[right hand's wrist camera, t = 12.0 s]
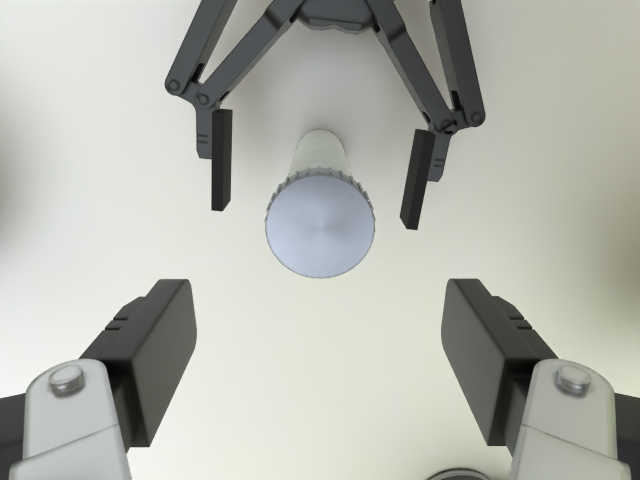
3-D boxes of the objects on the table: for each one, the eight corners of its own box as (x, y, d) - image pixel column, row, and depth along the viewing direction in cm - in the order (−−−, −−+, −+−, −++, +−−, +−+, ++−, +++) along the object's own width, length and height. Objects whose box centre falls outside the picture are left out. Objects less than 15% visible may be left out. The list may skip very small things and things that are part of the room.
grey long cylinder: (287, 145, 35) (256, 211, 18) (328, 119, 34) (336, 162, 17) (312, 185, 36) (305, 282, 19) (352, 161, 35) (382, 240, 18)
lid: (247, 200, 19) (241, 211, 17) (339, 144, 18) (340, 151, 16) (303, 280, 20) (301, 297, 19) (390, 234, 19) (396, 247, 18)
